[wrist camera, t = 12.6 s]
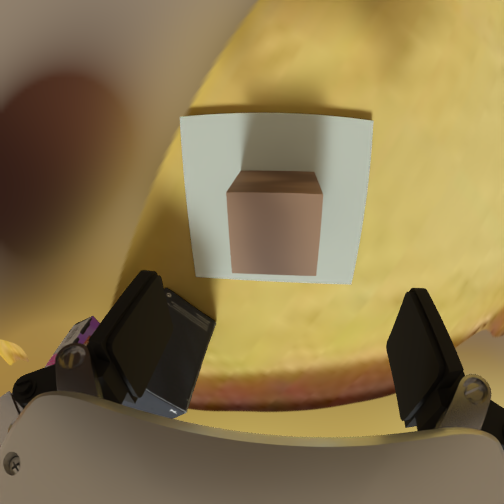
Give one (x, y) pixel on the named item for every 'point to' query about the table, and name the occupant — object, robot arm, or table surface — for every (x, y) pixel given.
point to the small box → (177, 361)
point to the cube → (274, 222)
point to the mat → (276, 159)
